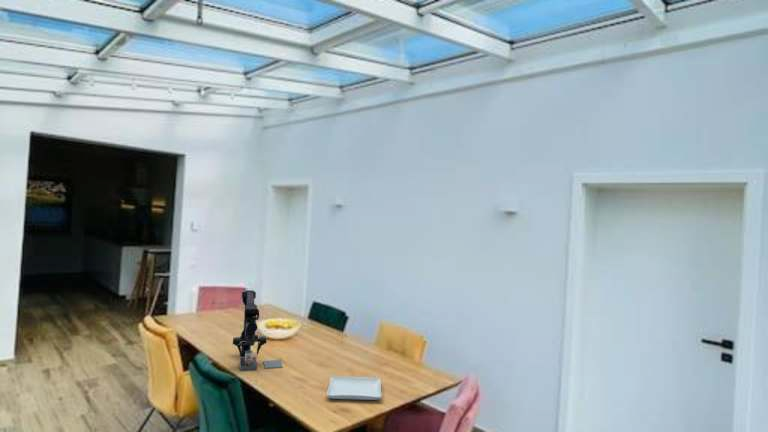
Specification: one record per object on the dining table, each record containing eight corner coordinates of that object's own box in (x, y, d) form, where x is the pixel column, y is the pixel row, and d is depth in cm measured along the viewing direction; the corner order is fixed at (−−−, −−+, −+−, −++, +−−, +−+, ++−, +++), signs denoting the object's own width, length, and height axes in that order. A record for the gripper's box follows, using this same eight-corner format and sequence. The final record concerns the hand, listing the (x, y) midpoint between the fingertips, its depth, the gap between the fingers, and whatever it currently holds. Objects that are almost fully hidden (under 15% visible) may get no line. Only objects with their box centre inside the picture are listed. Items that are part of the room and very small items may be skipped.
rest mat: (263, 361, 277) (263, 360, 277) (280, 361, 280) (280, 360, 280) (264, 368, 265) (265, 367, 265) (282, 367, 268) (282, 366, 268)
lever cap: (244, 359, 271) (245, 349, 271) (251, 359, 272) (252, 349, 272) (245, 362, 265) (245, 352, 265) (252, 362, 266) (252, 352, 266)
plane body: (240, 362, 274) (240, 351, 275) (255, 361, 277) (256, 350, 277) (240, 370, 259) (241, 359, 259) (257, 369, 262) (257, 358, 262)
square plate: (380, 384, 251) (380, 377, 251) (381, 404, 223) (382, 396, 224) (330, 382, 250) (330, 375, 250) (325, 402, 223) (326, 394, 223)
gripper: (233, 332, 258) (232, 360, 258) (267, 331, 264) (266, 358, 264) (233, 327, 269) (232, 354, 268) (266, 326, 274) (264, 353, 274)
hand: (248, 355), depth 268 cm, fingers open, 9 cm apart
